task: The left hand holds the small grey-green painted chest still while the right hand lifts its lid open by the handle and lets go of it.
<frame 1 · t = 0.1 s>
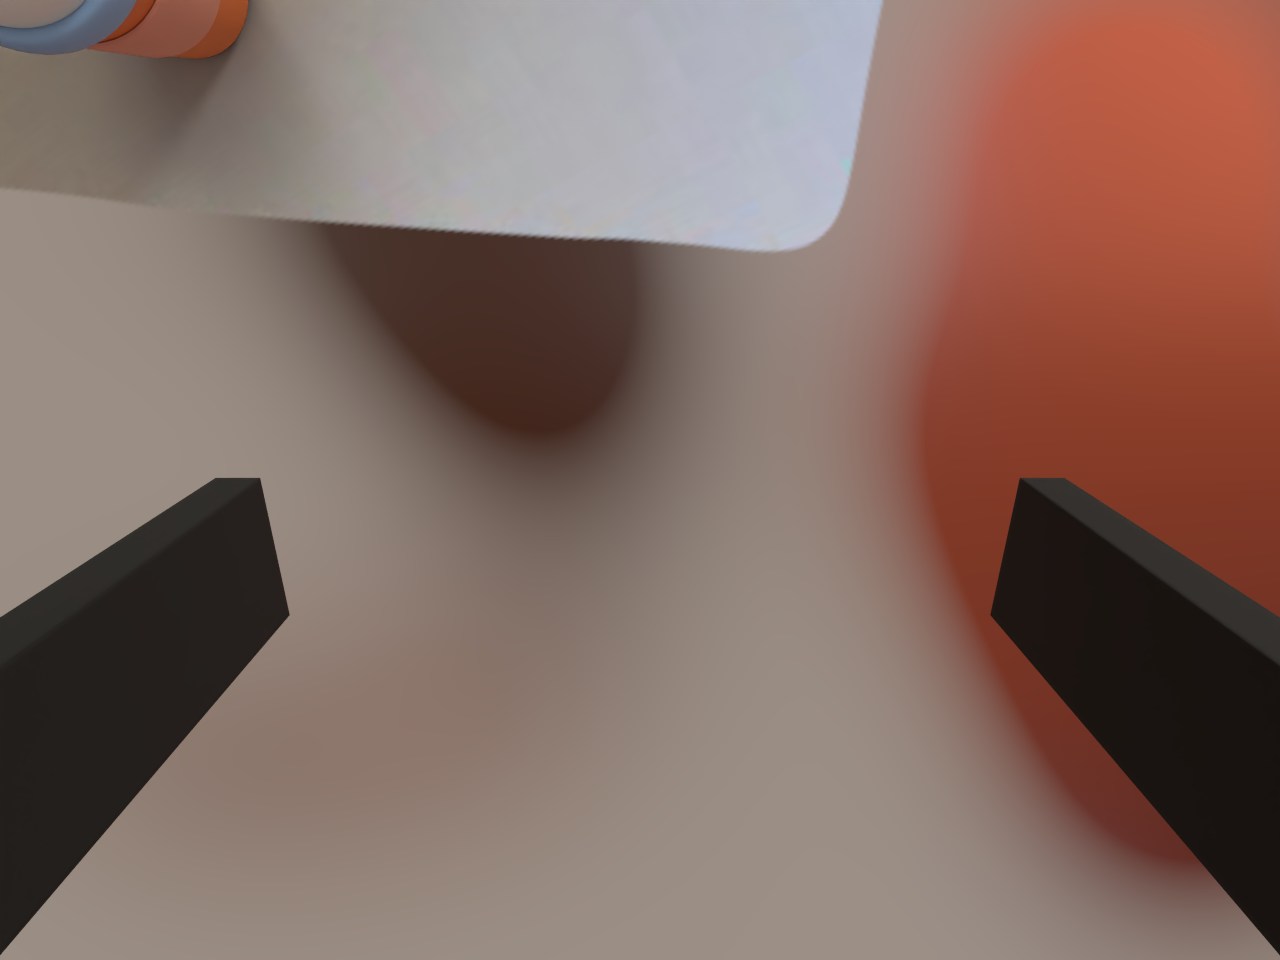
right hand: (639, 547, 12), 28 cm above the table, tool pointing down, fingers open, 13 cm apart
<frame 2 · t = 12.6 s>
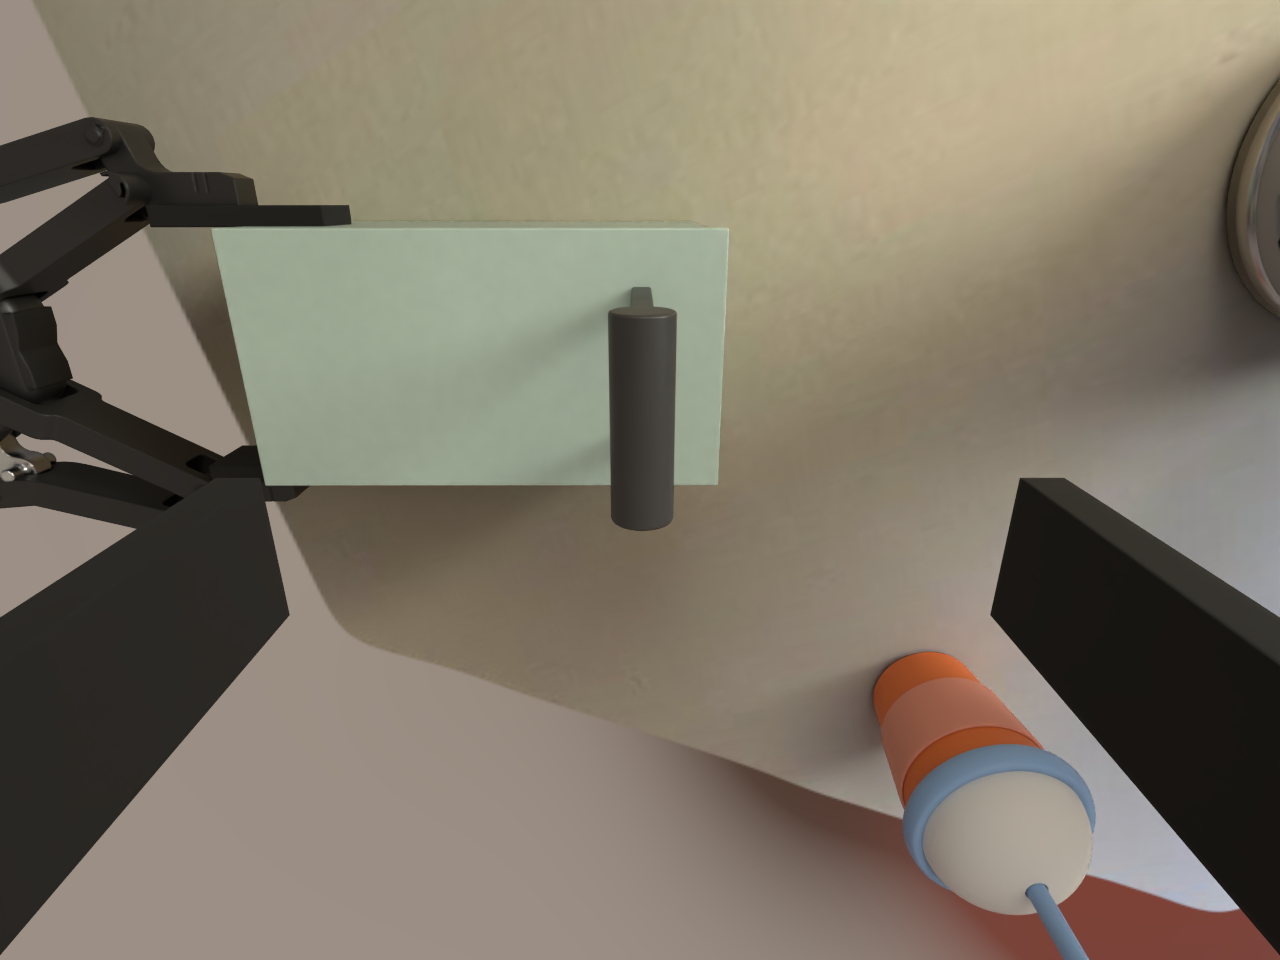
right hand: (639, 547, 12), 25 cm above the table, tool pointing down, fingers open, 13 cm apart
left hand: (356, 347, 29), fingers closed on chest, 10 cm apart
chest: (518, 321, 36), on the table, touching left hand
lid: (458, 389, 23), point 14 cm above the table, hinge at 0.0°
cup with straw: (920, 689, 44), on the table
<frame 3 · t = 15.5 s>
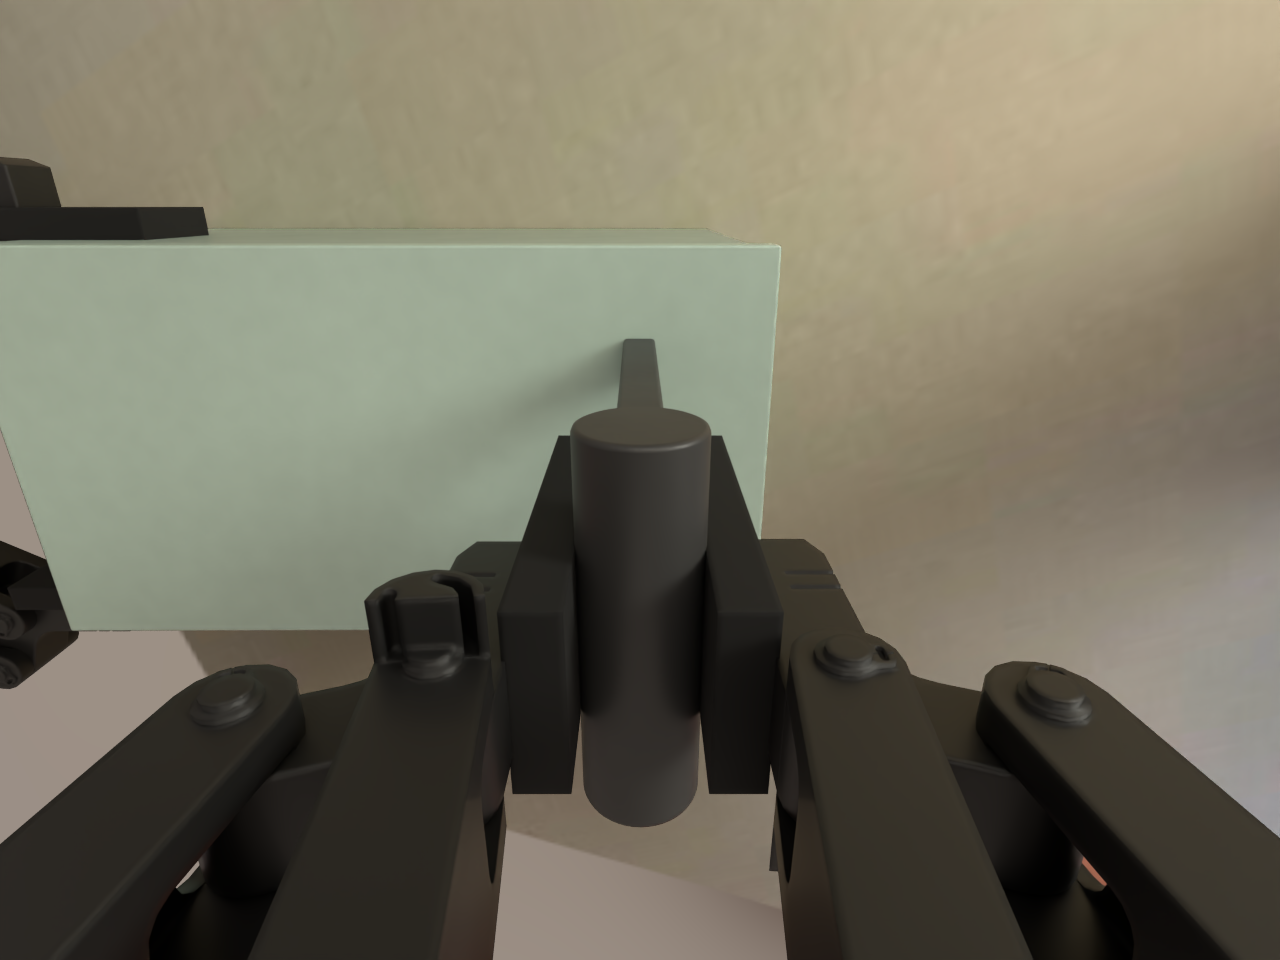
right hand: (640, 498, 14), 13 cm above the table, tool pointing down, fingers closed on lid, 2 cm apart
chest: (473, 364, 26), on the table, touching left hand
lid: (327, 522, 13), point 14 cm above the table, hinge at 0.1°, touching right hand
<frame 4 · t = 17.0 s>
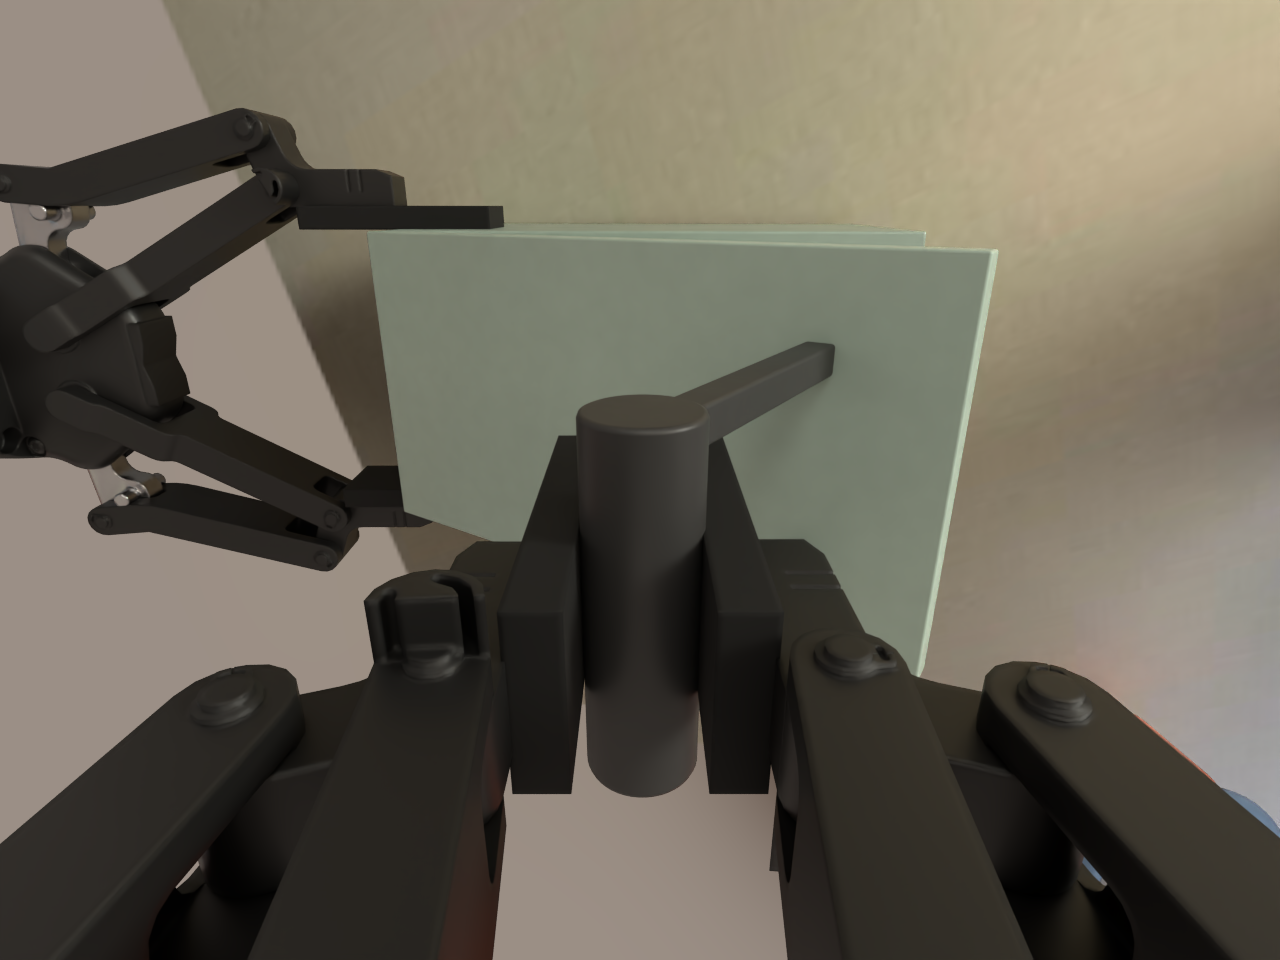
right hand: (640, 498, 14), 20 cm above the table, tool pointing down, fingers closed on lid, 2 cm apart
left hand: (506, 360, 27), fingers closed on chest, 10 cm apart
chest: (655, 332, 33), on the table, touching left hand
lid: (509, 462, 16), point 18 cm above the table, hinge at 31.2°, touching right hand
cup with straw: (1054, 716, 42), on the table
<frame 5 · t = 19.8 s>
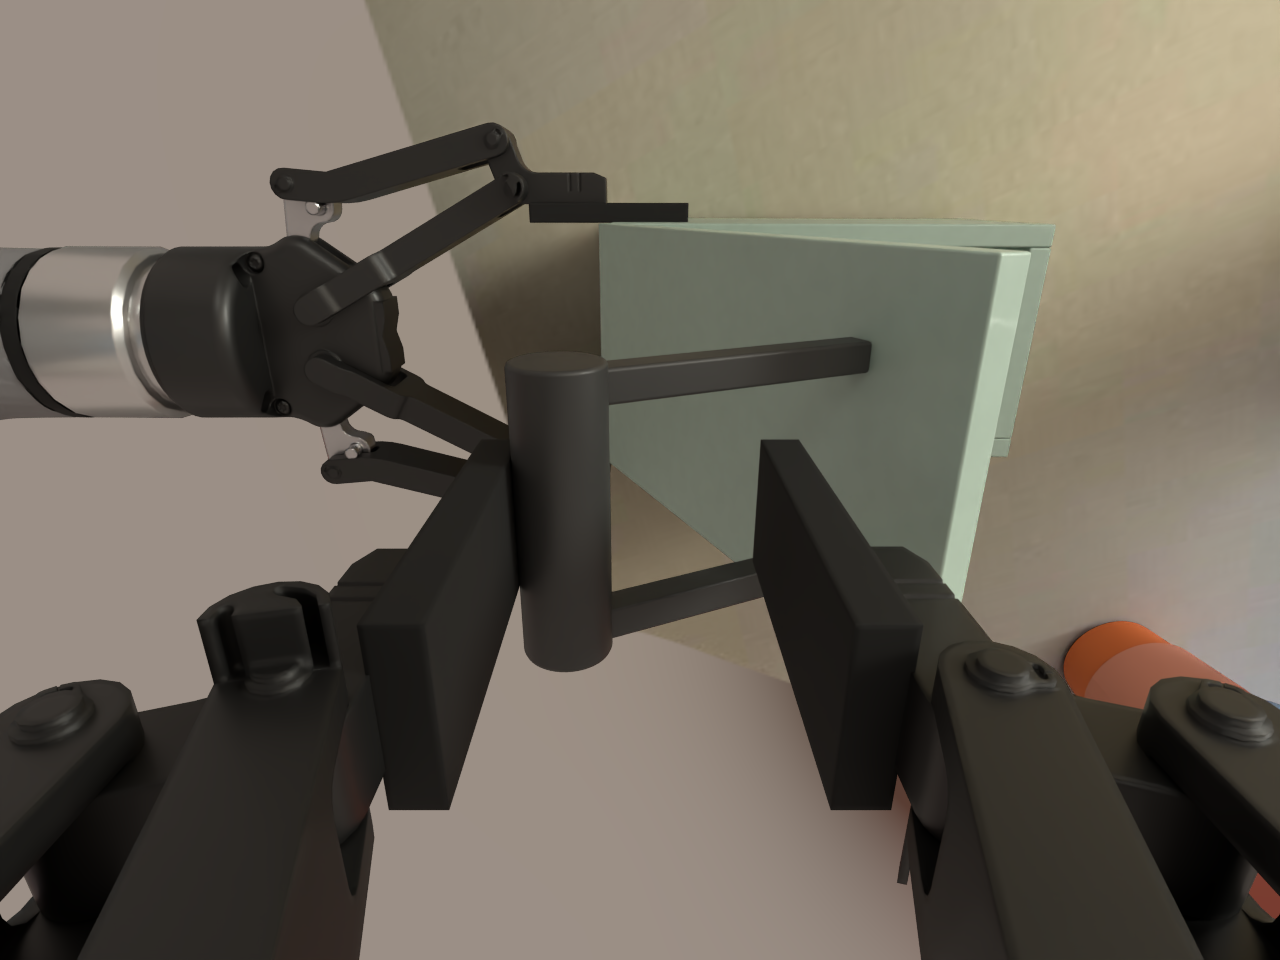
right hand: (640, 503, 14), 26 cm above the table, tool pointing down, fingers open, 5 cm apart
left hand: (682, 333, 32), fingers closed on chest, 10 cm apart
chest: (782, 312, 38), on the table, touching left hand
lid: (607, 414, 20), point 20 cm above the table, hinge at 62.7°, touching right hand
cup with straw: (1106, 656, 47), on the table
when the left hand's fingers open (7 cm above the table, at t = 22.6 s): chest stays where it is, on the table.
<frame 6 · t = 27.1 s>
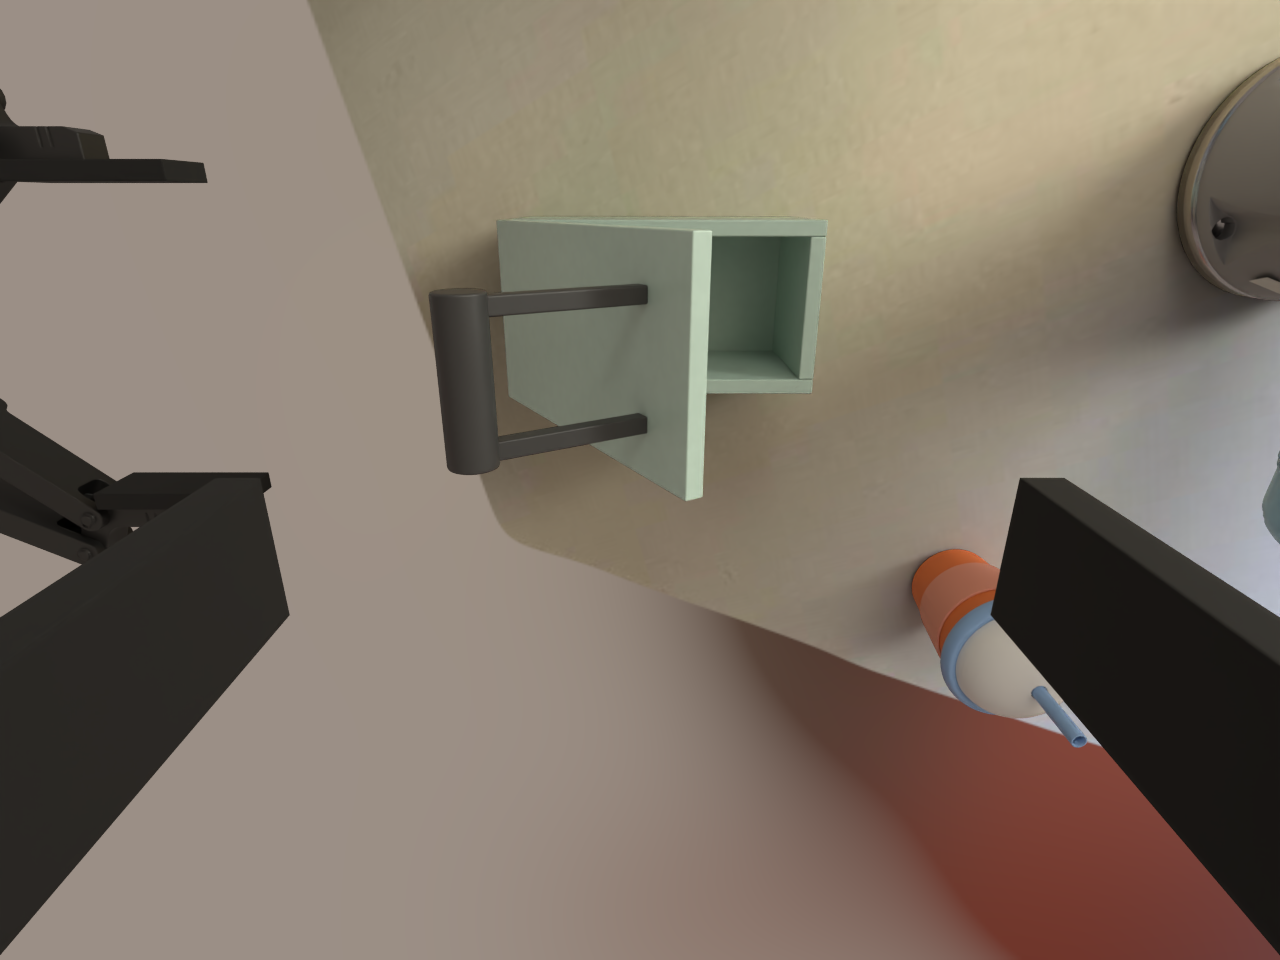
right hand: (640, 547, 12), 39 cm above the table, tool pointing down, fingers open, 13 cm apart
chest: (660, 290, 48), on the table
lid: (500, 344, 30), point 20 cm above the table, hinge at 58.8°
cup with straw: (948, 580, 57), on the table
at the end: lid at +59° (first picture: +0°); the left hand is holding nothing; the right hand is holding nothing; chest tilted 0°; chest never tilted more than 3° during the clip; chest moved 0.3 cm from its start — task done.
